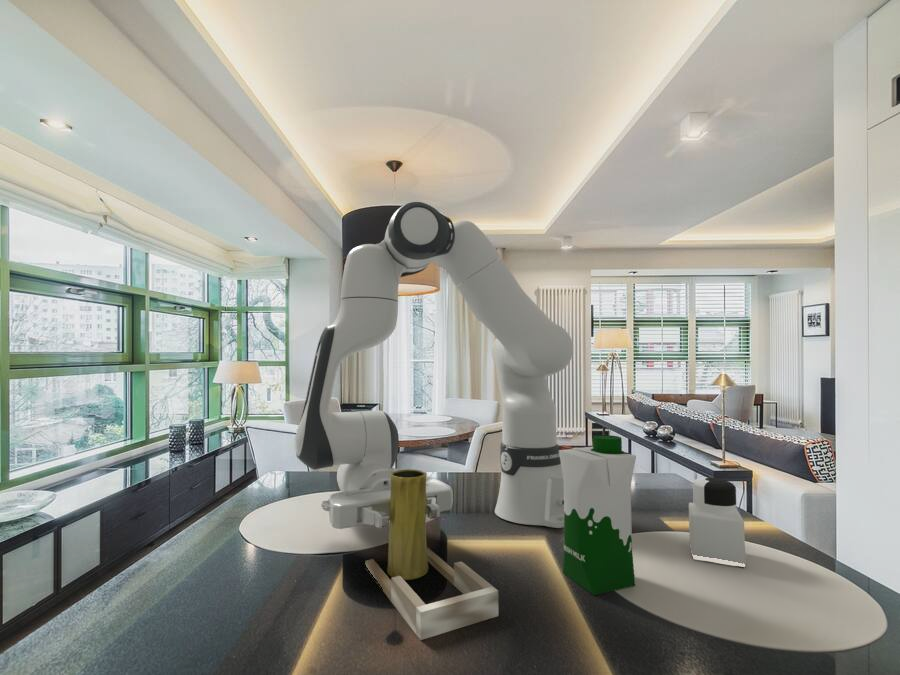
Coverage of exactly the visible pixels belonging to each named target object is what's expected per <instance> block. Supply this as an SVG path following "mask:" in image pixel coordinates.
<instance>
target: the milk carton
mask: <svg viewBox="0 0 900 675" xmlns="http://www.w3.org/2000/svg"><path fill="white" fill-rule="evenodd" d="M622 442H623V441H622V437H620V436H618V435H608V434H596V435H593V436H592V446H586V447H572V449H567V450H559V456H560V461H561V467H562V473H563V481H564V527H563V533H564V534H563V536H564V539H563V541H564V542H563V559H562V561H563V564H562V573H563V575H565V576H566V577H568V578H569V579H571V580H572V581H574V582H575V583H576V584H577V585H579V586H581V587H582V588H584V589H585V591H587V592H588V593H591V594H592V595H593V596H597V595H601V594H606V593H610V592H614V591H619V590H623V589H627V588H631V587H635V586H636V579H635V567H634V558H633V557H634V554H633V536H632V535H633V534H632V533H633V532H632V493H631V492H632V489H631V488H632V480H633V475H634V469H635V464H636V459H637V456H636V455H635V454H631V453H630V452H627V451H625V450H622V448H623V446H622V444H623V443H622Z"/></svg>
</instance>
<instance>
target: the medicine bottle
mask: <svg viewBox="0 0 900 675" xmlns="http://www.w3.org/2000/svg"><path fill="white" fill-rule="evenodd" d="M692 499H693V501H692V502H689V503H688V530H689V531H688V532H689V533H688V534H689V535H688V536H689V537H688V538H689V546H690V545H691V548H690V552H691V551H692V554H693V555H697V556H703V557H709V558H717V559H722V560H728V561H733V562H738V563H742V564H743V563H744V564H745V563H746V542H745V540H746V539H745V538H746V537H745V536H746V535H745V521H744V519H743V517H742V515H741V513H740V511H739V509H738V508H737V488H736V485H734V483H732V482H730V481H729V480H726V479H722V478H717V477H708V476H706V477H705V476H704V477H703V476H702V477H698V478H696V479H694V480H693V481H692ZM692 554H691V555H692Z"/></svg>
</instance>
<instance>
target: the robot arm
mask: <svg viewBox="0 0 900 675" xmlns="http://www.w3.org/2000/svg"><path fill="white" fill-rule="evenodd" d="M449 223H450V224H449ZM431 263H432V264H435V265H438V266H439V267H441V268H442V269H443V270H444V271H445V273H447V274H448V276H449V277H450V279H451V281H452V282H453V284H454V286H455V287H456V288H457V290H458V291H459V293H460V295H461V297H462V298H463V299H464V301H465V302H466V304H467V306H468V307H469V309H470V310H471V312H472V313H473V315H474V317H475V318H476V319H477V320H478V321H480V323H482V324H483V325H484V326H485V327H486V328H487V329H488V330H489V331H490V333H492V335H493V336H494V337H495V338H496V339H495V340H494V342H493V343H492V347H491V356H492V359H493V361H494V362H493V363H494V364H495V368H496V370H495V371H496V374H497V376H496V377H497V382H498V387H499V394H500V399H501V410H502V411H501V415H502V416H501V418H502V419H501V420H502V421H501V423H502V428H501V430H502V432H501V434H502V442H501V443H500V446H499V447H500V450H499V451H500V453H499V454H500V455H499V457H500V458H499V461H500V468H501V476H500V484H499V490H498V496H497V500H496V501H497V502H496V505H495V507H494V514H495V516H497V517H498V518H501V519H503V520H505V521H509V522H512V523H515V524H520V525H528V526H545V527H548V528H553V529H554V528H556V529H562V528H564V481H563V473H562V467H561V461H560V456H559V450H567V449H572V448H573V447H572V446H568V445H561V446H560V445H559V444H558V443H557V406H556V403H555V401H554V399H553V398H552V396H551V393H550V392H551V391H550V389H549V386H548V381H547V377H549V376H552V375H555V374H557V373H559V372H561V371H562V370H563V371H564V369H565V368H567V366H568V365H570V362H571V360H572V358H573V354H574V344H573V340H572V337H571V336H570V334H569V332H567V330H566V329H565V328H564V327H562V326H561V325H559V324H557V323H556V322H554V321H553V320H552V319H550V317H549V316H547V314H546V313H545V312H544V311H543V310H542V309H541V308H540V307H539V306H538V305H537V303H536V302H535V301H533V300H532V299H531V298H530V297H529V295H528V294H527V293H526V292H525V290H523V288H522V287H521V285H520V284H519V283H518V280H517V279H516V277H515V276H514V275H513V273H512V271H511V269H510V268H509V267H508V265H507V264H506V262H505V261H504V259H503V257H502V255H501V254H500V253H499V251H498V250H497V248H496V246H494V245H493V243H492V241H490V239H489V238H488V236H486V235H485V233H484V232H483V231H482V230H481V229H480V228H479V227H478V226H477V225H476V224H475V223H474V222H472V221H469V220H458V221H455V222H454V223H453V221H452V219H451V218H449V217H447V216H446V215H444V214H442V213H441V212H440V211H438V209H436V208H434V206H432V205H430V204H428V203H425V202H422V201H411V202H408V203H405V204H403V205H402V206H400V207H399V208H398V209H397V210H396V211H394V212H393V214H392V216H391V218H390V220H389V223H388V224H387V227H386V230H385V234H384V238H383V240H382V241H381V242H379V243H376V244H374V243H365V244H360V245H358V246H355V247H353V248H352V249H351V250H350V251H349V252H348V254H347V256H346V259H345V264H344V267H343V268H344V269H343V272H342V273H343V274H342V279H341V280H342V281H341V287H340V288H341V290H340V305H339V310H338V313H337V316H336V318H335V319H334V321H333V323H331V324H329V325H327V326H325V327H324V329H323V331H322V333H321V334H320V337H319V340H318V343H317V347H316V350H315V354H314V355H315V356H314V359H313V362H312V363H313V364H312V368H311V372H310V377H309V383H308V386H307V392H306V397H305V401H304V405H303V409H302V414H301V418H300V420H299V424H298V427H297V429H296V434H295V439H294V447H295V448H294V449H295V454H296V457H297V459H298V460H299V461H300V462H302V463H303V464H304V465H305V466H306V467H308V468H309V469H312V470H314V471H315V470H321V469H325V468H326V469H327V468H331V467H334V466H338V468H337V472H336V481H337V485H338V488H339V490H340V491H339V492H334V493H333V494H331V495H330V496H329V498H328V500H323V501H322V502H321V505H320V506H321V509H322V510H323V511H325V512H328V514H329V515H328V519H329V522H330V524H331V526H332V528H333V529H338V530H345V529H348V528H355V527H360V526H366V525H367V526H375V527H376V528H377V529H382V528H387V527H389V522H390V502H391V473H392V472H395V471H398V470H401V469H399V468H394V466H395V463H396V461H397V458H398V454H399V447H400V446H399V445H400V442H399V438H400V437H399V431H398V428H397V425H396V424H395V423H394V421H393V420H392V418H391V417H390V415H389V414H387V413H386V412H385V411H383V410H381V409H380V410H358V411H337V412H334V411H330V406H331V405H330V404H331V401H332V400H331V399H332V395H333V391H334V386H335V380H336V375H337V371H338V368H339V367H340V365H341V363H343V362H344V360H347V358H350V357H351V356H353V355H354V354H357V353H360V352H363V351H364V350H365V351H366V350H369V349H371V348H374V347H376V346H378V345H380V344H383V342H385V341H386V340H387V339H388V338H390V337H391V336H392V334H393V332H394V331H395V330H396V327H397V322H398V315H399V284H400V280H401V278H403V277H407V276H412V275H413V276H414V275H417V274H418V273H421V272H423V271H424V270H425V269H426V268H428V267H429V265H431ZM419 470H420V471H423V472H425V473H426V517H427V518H429V519H430V520H432V519H438V518H440V517H441V513H442V512H448V511H451V510H452V508H453V505H454V504H453V503H454V496H453V495H454V494H453V489H452V487H451V486H450V485H449V484H447V483H446V482H444V481H442V480H440V479H438V478H436V477H433V476H429V475H428V474H427V471H425V470H422V469H419Z"/></svg>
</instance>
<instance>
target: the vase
mask: <svg viewBox="0 0 900 675" xmlns="http://www.w3.org/2000/svg"><path fill="white" fill-rule="evenodd" d="M420 470H421V469H411V468H410V469H400V470H398V471H395V472H392V473H391V502H390V521H389V526H388V527H389V530H388V531H389V532H388V552H387V567H386V572H387V575H389V577H391V578H392V577H397V576H401V577H402V578H403V579H404V581H412V580H417V579H420V578H422V577H423V576H425V575H427V573H428V571H429V562H428V559H427V548H428V545H427V544H428V543H427V531H426V530H427V529H426V521H427V520H426V517H427V516H426V473H427V472H426V471H425V472H426V473H425V472H423V471H424V470H423V471H420Z"/></svg>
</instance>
